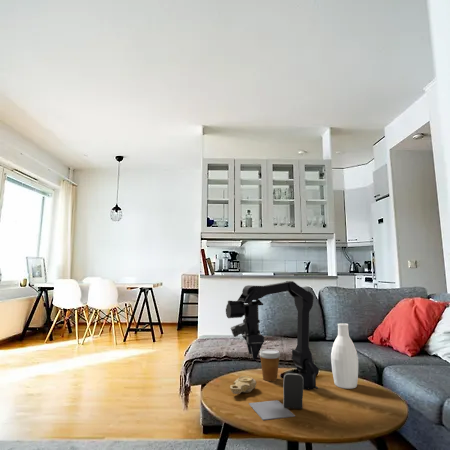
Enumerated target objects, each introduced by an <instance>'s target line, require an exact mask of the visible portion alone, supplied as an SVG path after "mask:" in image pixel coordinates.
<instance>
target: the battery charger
mask: <svg viewBox="0 0 450 450" xmlns="http://www.w3.org/2000/svg"><path fill="white" fill-rule="evenodd" d="M282 387H283V403H282V404H283V407H284V408H287V409H295V410H303V409H304V408H303V405H304V404H303V402H304V401H303V396H304V389H303V377H302V376H301V375H300V374H299V372H298V373H296V372H286V373H284V375H283V381H282Z"/></svg>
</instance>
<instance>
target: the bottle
mask: <svg viewBox="0 0 450 450" xmlns="http://www.w3.org/2000/svg"><path fill="white" fill-rule="evenodd" d="M349 333H350V332H349V323H345V322H341V323H340V322H339V323H337V336H336V338H335V340H334V342H333V343H332V347H331V354H330V362H331V373H332V377H333V382H334V383H333V384H334V385H335V386H336V387H338V388H341V389H348V390H349V389H350V390H351V389H355V388H357V386H358V378H359V358H358V357H359V355H358V352H357V349H356V346H355V344H354V342H353V340H352V338H351V337H350V334H349Z"/></svg>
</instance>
